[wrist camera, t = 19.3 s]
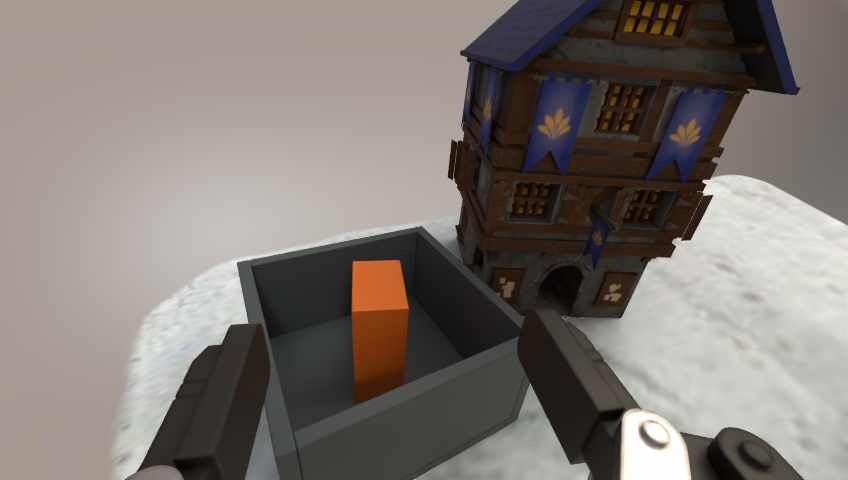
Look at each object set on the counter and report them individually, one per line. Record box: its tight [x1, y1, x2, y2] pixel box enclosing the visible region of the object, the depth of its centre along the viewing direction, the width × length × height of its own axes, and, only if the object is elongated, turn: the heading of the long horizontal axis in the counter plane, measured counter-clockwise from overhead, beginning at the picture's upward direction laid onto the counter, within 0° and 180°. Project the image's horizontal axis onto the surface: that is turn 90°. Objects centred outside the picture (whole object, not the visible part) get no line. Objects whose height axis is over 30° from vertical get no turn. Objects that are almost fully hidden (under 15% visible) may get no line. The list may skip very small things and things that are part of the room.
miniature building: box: [448, 0, 800, 318], centre depth 31 cm, size 19×21×30 cm
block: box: [352, 260, 409, 402], centre depth 24 cm, size 3×5×8 cm, turn 9°
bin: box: [237, 226, 530, 480], centre depth 24 cm, size 15×15×8 cm
